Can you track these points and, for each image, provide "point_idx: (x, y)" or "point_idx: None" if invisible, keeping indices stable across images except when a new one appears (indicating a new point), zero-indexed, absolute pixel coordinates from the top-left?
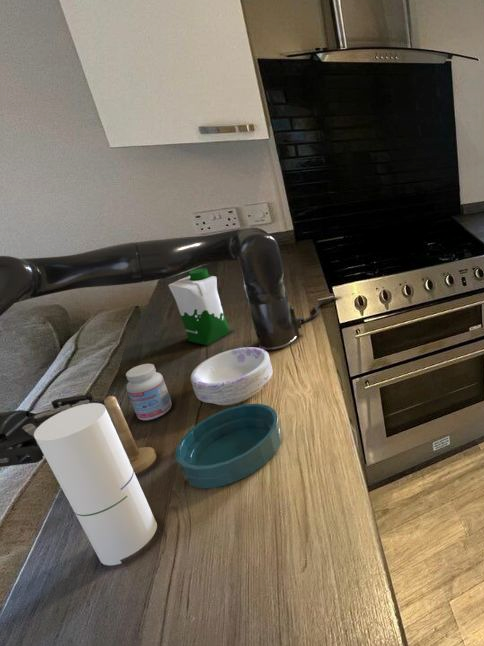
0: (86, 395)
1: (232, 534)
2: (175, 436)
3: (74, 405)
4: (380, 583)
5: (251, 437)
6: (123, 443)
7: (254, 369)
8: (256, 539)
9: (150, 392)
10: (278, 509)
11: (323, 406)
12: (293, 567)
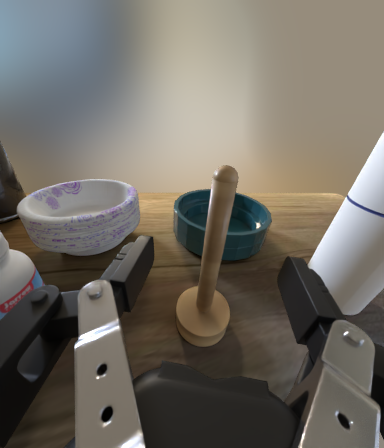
0: (36, 296)
1: (304, 229)
2: (149, 286)
3: (95, 324)
4: (320, 193)
5: (201, 222)
6: (216, 281)
7: (122, 184)
8: (306, 221)
9: (37, 277)
10: (281, 214)
11: (178, 197)
12: (320, 210)
